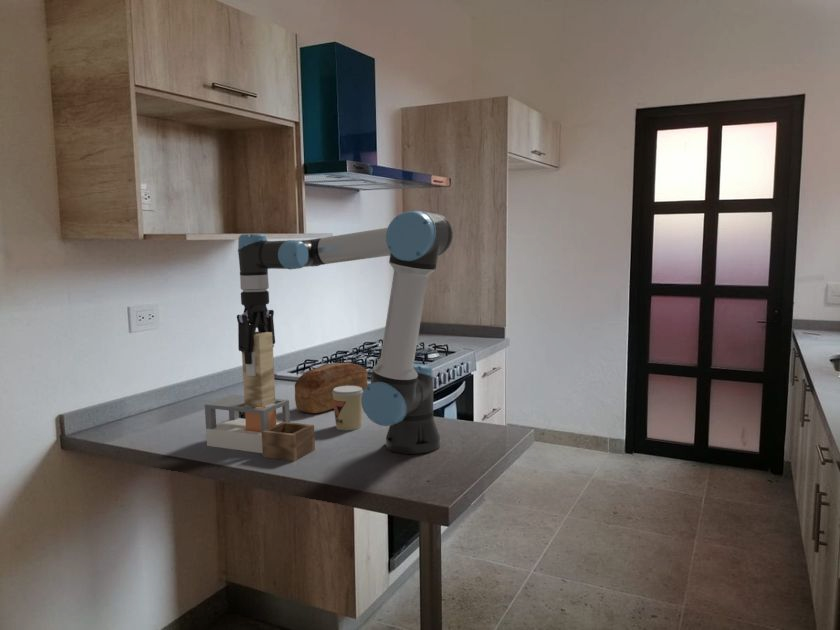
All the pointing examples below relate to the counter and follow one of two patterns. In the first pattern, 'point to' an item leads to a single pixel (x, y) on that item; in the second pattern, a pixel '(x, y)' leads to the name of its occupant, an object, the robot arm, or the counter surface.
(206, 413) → the grey frame
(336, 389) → the coffee cup
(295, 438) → the holder
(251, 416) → the orange cube
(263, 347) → the tan wooden block
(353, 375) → the bread
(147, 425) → the counter surface
